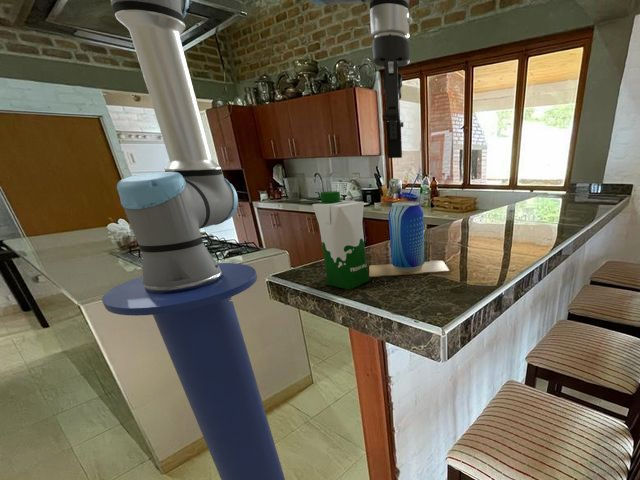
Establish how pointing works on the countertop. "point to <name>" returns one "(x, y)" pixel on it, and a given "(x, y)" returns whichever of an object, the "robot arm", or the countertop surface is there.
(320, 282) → the countertop surface
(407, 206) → the beer can
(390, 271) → the mat
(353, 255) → the milk carton
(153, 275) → the robot arm
